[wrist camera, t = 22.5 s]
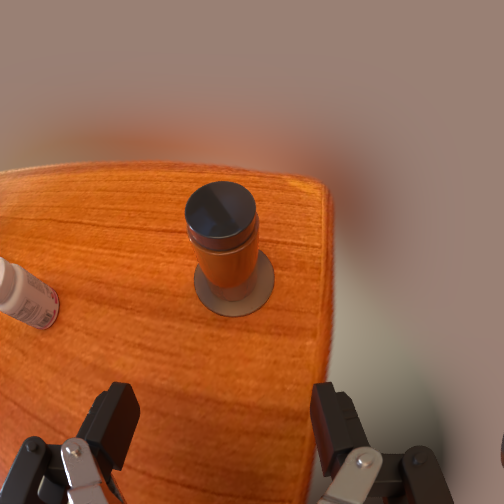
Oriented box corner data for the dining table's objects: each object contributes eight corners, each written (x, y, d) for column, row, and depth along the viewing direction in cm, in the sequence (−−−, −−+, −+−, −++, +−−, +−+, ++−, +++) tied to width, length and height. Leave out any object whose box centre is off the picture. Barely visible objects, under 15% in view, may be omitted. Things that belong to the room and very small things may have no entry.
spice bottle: (266, 267, 25) (273, 194, 16) (242, 310, 23) (234, 255, 14) (222, 247, 26) (208, 169, 17) (197, 287, 24) (165, 222, 15)
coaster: (287, 263, 25) (287, 261, 25) (250, 331, 22) (250, 330, 22) (220, 232, 27) (219, 230, 26) (180, 293, 24) (179, 292, 24)
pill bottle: (33, 289, 24) (-15, 254, 16) (62, 286, 24) (12, 247, 17) (28, 330, 22) (-26, 303, 14) (58, 330, 22) (1, 302, 14)
